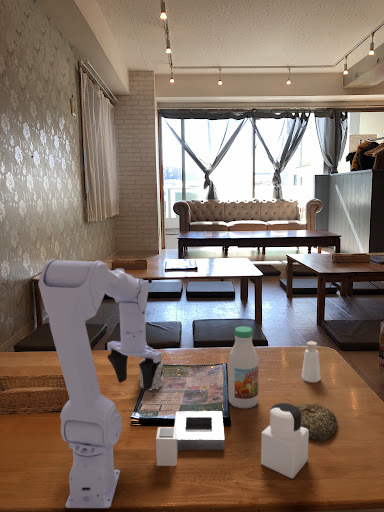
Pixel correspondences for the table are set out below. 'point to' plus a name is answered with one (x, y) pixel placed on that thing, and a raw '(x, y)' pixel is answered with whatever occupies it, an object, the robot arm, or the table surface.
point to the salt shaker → (311, 363)
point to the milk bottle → (243, 370)
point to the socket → (199, 430)
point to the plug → (166, 446)
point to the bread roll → (318, 421)
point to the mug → (157, 377)
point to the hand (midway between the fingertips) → (135, 384)
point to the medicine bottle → (284, 441)
